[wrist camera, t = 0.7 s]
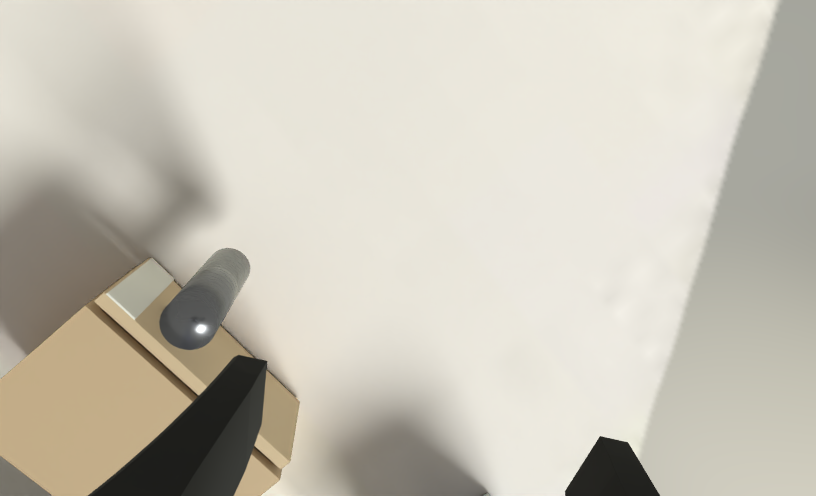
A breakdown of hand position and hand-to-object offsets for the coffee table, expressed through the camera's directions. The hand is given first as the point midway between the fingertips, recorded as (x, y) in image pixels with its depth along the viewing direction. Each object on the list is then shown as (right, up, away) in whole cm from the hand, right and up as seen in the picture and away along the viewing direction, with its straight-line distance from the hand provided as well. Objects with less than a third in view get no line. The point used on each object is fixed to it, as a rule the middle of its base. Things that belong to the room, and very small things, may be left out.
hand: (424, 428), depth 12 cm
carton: (-14, -4, +19) cm, 24 cm away
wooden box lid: (-9, 0, +18) cm, 21 cm away
